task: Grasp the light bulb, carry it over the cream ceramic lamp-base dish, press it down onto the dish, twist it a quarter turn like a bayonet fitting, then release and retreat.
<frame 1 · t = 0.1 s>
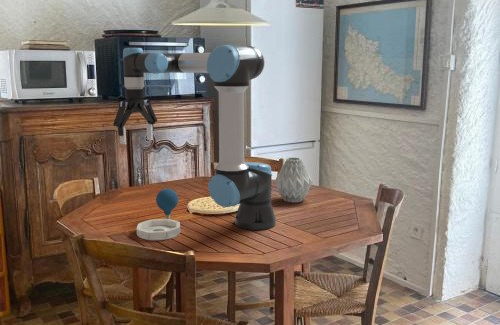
hand: (136, 142, 203), 28 cm above the table, fingers open, 13 cm apart
vase: (293, 200, 221), on the table
light bulb: (167, 219, 195), on the table
lamp base: (158, 233, 179), on the table
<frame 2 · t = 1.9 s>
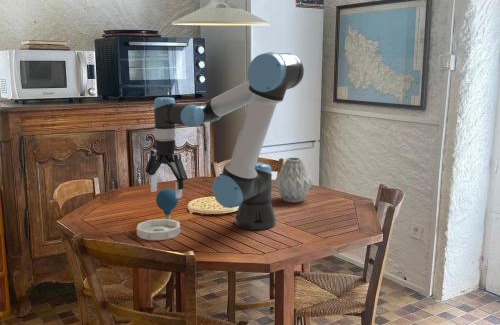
hand: (166, 194, 193), 10 cm above the table, fingers open, 13 cm apart
nothing on the table moved.
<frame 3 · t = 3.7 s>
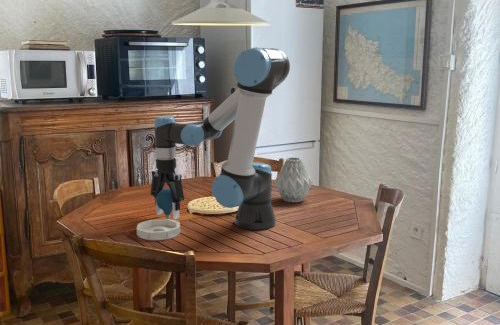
hand: (167, 216, 195), 1 cm above the table, fingers closed on light bulb, 8 cm apart
light bulb: (167, 219, 195), on the table, touching gripper
everything else where it was.
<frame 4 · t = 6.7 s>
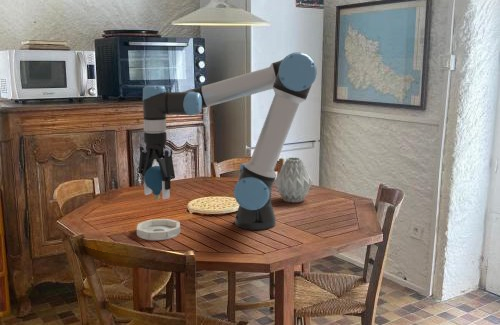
hand: (157, 196, 177), 13 cm above the table, fingers closed on light bulb, 8 cm apart
light bulb: (157, 200, 177), point 12 cm above the table, touching gripper
everything else where it was.
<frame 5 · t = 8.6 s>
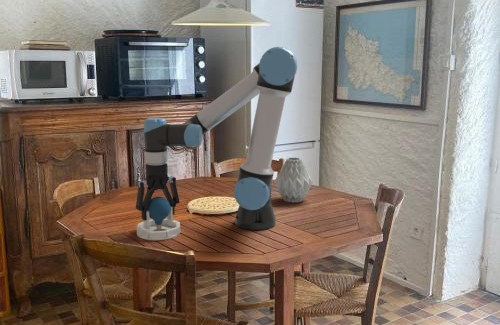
hand: (158, 226, 179), 3 cm above the table, fingers closed on light bulb, 8 cm apart
light bulb: (159, 230, 179), point 1 cm above the table, touching gripper
everything else where it was.
when the fingers open (3 cm above the table, at t = 9.8 s): light bulb stays where it is, resting on lamp base.
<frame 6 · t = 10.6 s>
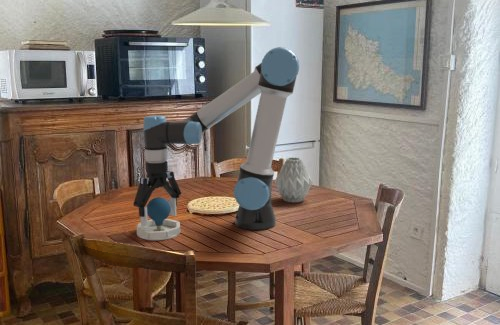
hand: (159, 220, 178), 5 cm above the table, fingers open, 13 cm apart
light bulb: (159, 231, 179), point 1 cm above the table, touching lamp base
everything else where it was.
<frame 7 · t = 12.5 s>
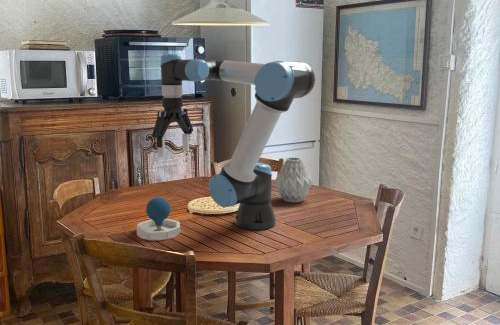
hand: (174, 153, 192), 25 cm above the table, fingers open, 13 cm apart
nothing on the table moved.
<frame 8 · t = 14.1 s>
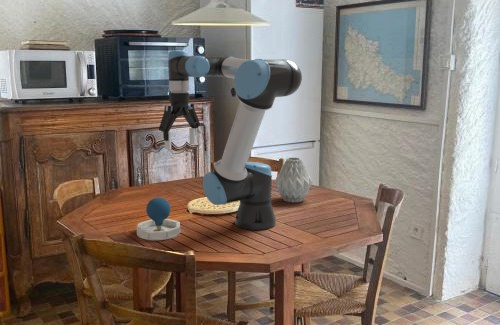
hand: (180, 146, 199), 27 cm above the table, fingers open, 13 cm apart
nothing on the table moved.
at the end: light bulb 0.2 cm from the lamp base (horizontally); light bulb touching lamp base; the gripper is holding nothing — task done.
